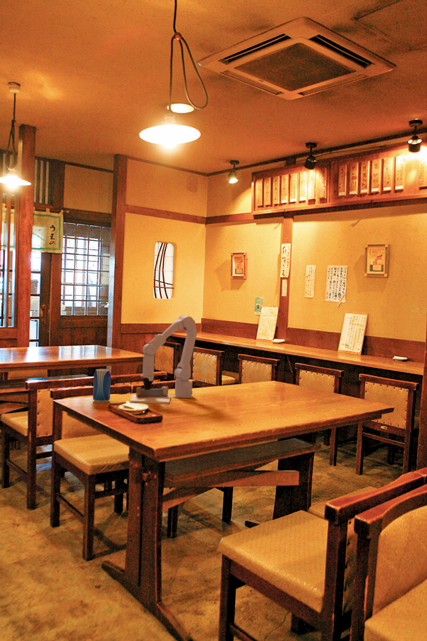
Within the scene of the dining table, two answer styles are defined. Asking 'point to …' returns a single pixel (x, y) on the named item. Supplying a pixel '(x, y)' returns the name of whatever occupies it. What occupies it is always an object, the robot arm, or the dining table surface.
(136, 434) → the dining table surface
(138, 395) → the lever
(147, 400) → the board
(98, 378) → the beer can
